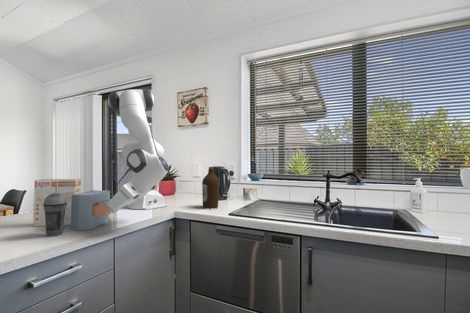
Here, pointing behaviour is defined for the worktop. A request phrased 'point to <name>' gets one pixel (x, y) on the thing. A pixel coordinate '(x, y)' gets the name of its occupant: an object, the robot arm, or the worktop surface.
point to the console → (87, 210)
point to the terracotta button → (101, 209)
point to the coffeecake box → (49, 187)
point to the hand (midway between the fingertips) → (113, 211)
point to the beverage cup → (54, 213)
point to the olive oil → (210, 189)
